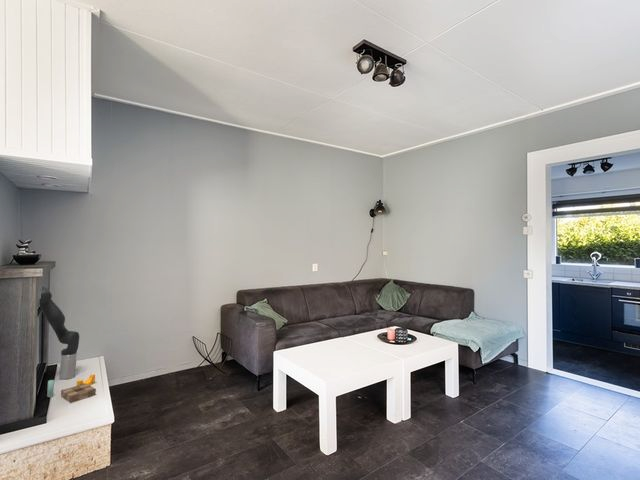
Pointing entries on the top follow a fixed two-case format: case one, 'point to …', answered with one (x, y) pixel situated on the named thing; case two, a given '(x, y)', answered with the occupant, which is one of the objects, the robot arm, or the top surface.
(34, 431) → the top surface
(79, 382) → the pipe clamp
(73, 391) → the walnut socket block
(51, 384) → the teal peg
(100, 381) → the top surface
